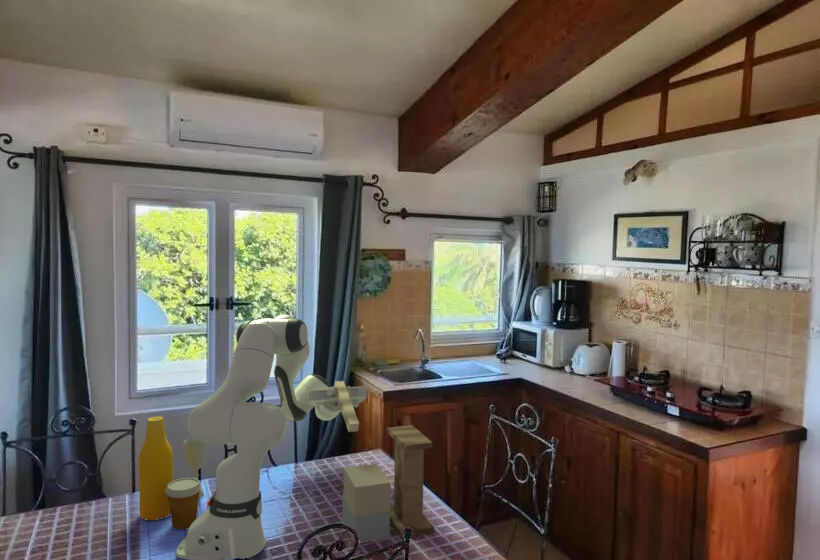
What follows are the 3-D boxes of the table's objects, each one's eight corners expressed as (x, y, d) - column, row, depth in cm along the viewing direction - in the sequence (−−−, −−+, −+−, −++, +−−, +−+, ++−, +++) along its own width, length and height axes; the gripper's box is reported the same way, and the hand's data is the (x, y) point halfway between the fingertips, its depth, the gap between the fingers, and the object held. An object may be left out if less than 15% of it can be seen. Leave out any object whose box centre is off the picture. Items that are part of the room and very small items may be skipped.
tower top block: (343, 494, 162) (343, 467, 161) (376, 489, 165) (376, 463, 165) (355, 516, 149) (355, 487, 148) (390, 510, 152) (390, 482, 152)
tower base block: (342, 521, 162) (342, 494, 162) (374, 515, 166) (375, 489, 165) (354, 545, 149) (354, 516, 149) (389, 538, 153) (389, 510, 152)
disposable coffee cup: (204, 527, 157) (204, 486, 156) (168, 536, 152) (168, 493, 151) (198, 513, 165) (197, 474, 165) (163, 521, 160) (163, 481, 159)
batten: (333, 388, 187) (334, 381, 186) (342, 388, 188) (343, 380, 187) (348, 432, 168) (349, 424, 167) (358, 431, 169) (359, 423, 168)
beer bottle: (138, 524, 158) (136, 425, 157) (140, 510, 167) (139, 415, 165) (173, 518, 162) (172, 421, 160) (173, 505, 170) (172, 412, 169)
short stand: (383, 512, 167) (384, 428, 166) (414, 507, 171) (415, 424, 170) (401, 538, 152) (402, 446, 151) (434, 532, 156) (435, 442, 155)
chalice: (182, 501, 173) (182, 445, 172) (185, 492, 179) (184, 438, 178) (207, 499, 175) (207, 443, 174) (209, 490, 181) (208, 436, 180)
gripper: (303, 393, 192) (309, 381, 181) (359, 389, 199) (369, 377, 188) (304, 411, 190) (311, 400, 178) (362, 406, 197) (371, 395, 185)
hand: (341, 389), depth 183 cm, fingers closed on batten, 3 cm apart
